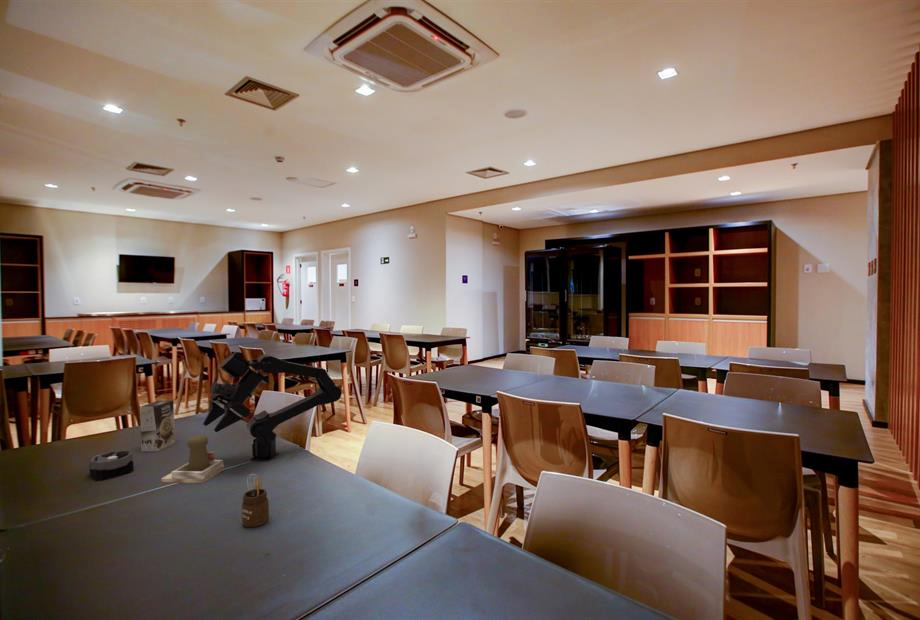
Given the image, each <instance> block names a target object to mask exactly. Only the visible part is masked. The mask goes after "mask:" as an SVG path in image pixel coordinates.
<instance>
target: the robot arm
mask: <svg viewBox="0 0 920 620" xmlns="http://www.w3.org/2000/svg"><path fill="white" fill-rule="evenodd" d="M250 367H251V368H250ZM219 368H220V369H222V371H224V372H225V373H226V374H228V375H229V376H230V377H232V378H233V379H236V378H240V379H239V380H238V381H237V382H236V383H235V382H233V383H228V382H225V381H224V382H223V383H220V382H219V383H218V382H215V381H212V384H211V386H210V388H209V390H208V392H210V393H212V395H211V396H209V399H210V400H209V403H210V408H209V411H208V412H207V413H208V414H207V415H206V416H205V417H206V418H205V419H204V421H203V424H202V425H204V426H205V427H207V426H209V425H210V424H212V423H213V422H214V421H216V420H218V418H220V417H221V416H222V417H221V418H220V420H219V422H218V423H217V424H216V426H215V427H214V429H213V431H214V432H215V433H218V432H221V431H222V430H223V429H226V428H227V427H229V426H231V425H233V424H235V423H237V422H239V421H242V420H243V419H247V418H248V417H249V415H250V414H251V409H250V408H248V407H247V406H246V405H244V403H245V402H247V400H248V398H249V399H251V398H253V396H254V395H253V392H254V391H255V390H256V389H257V388H258V387H259V386H260V385H261V384H262V383H263V384H267V385H269V384H270V379H269V375H268V374H291V375H296V376H302V377H308V378H314V379H315V380H316V383H317V385H318V388H317V389H316V390H315V391H314V392H313V393H312V394H310V395H308V396H306V397H304V398H301V399H299V400H298V401H295V402H293V403H291V404H289V405H287V406H285V407H282V408H280V409H278V410H277V411H274V412H270V413H269V412H267V410H265V409H264V410H262V411H261V412H259V413H257V414H253V415H252V417H251V418H249V419H248V421H247V423H246V426H245V427H246V430H247V431H248V433H249V434H250V436H252V437H253V438H254V439H253V441H252V444H251V451H252V452H251V453H252V455H251V456H252V457H251V458H250V460H251V461H270V460H271V459H273V458H275V457H276V456H277V455H279V451H277V442H276V441H277V440H276V439H277V438H276V437H277V433H276V432H274V430H276V428H277V427H278V426H279V425H281V424H282V423H285V422H287V421H289V420H291V419H293V418H294V417H297V416H299V415H301V414H303V413H305V412H308V411H309V410H312V409H313V408H315V407H318V406H323V405H328V404H332V403H335V402H338V401H339V400H340V399H341V396H342V394H343V393H342V389H341V387H340V386H337V385H336V384H335V382H334V381H333V379H332V378H331V377H330V375H329V373H328V372H327V370H326V369H325V368H323V367H320V366H311V365H307V364H301V363H296V362H290V361H286V360H284V359H281V358H278V357H276V356H273V355H270V354H268V353H267V354H266V353H265V354H261V355H260V356H258V357H257V358H255V359H254V358H253V359H249V360H247V359H246V358H245V357H243V356H242V355H241V354H240V353H239V352H238V351H234V352H233V353H232V354H231V355H229V356H228V357H226V358H225V359H224V360H223V361H222V362H221V363H220V365H219ZM253 369H254V370H256V371H254V370H253ZM262 372H263V373H264V374H267V375H264V374H263V373H262Z"/></svg>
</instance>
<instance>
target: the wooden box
mask: <svg viewBox="0 0 920 620" xmlns="http://www.w3.org/2000/svg"><path fill="white" fill-rule="evenodd" d="M207 454H208V459H209V465H210V467H208V468H207V469H205V470H203V471H202V472H201V471H188V464H189V462H186V463H185V464H183V465H182V466H180V467H178V468H176V469H174V470H172V471H171V473H169V474H167V475H165V476H163V477H162V478H160V481H161V483H180V484H181V483H184V484H185V483H187V484H188V483H189V484H204V483H205V482H207V481H209V480H210V479H211V478H213V477H215V476H216V475H217V474H219V473H221V472H222V471H224V470H225V466H224V459H215V451H207Z"/></svg>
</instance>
